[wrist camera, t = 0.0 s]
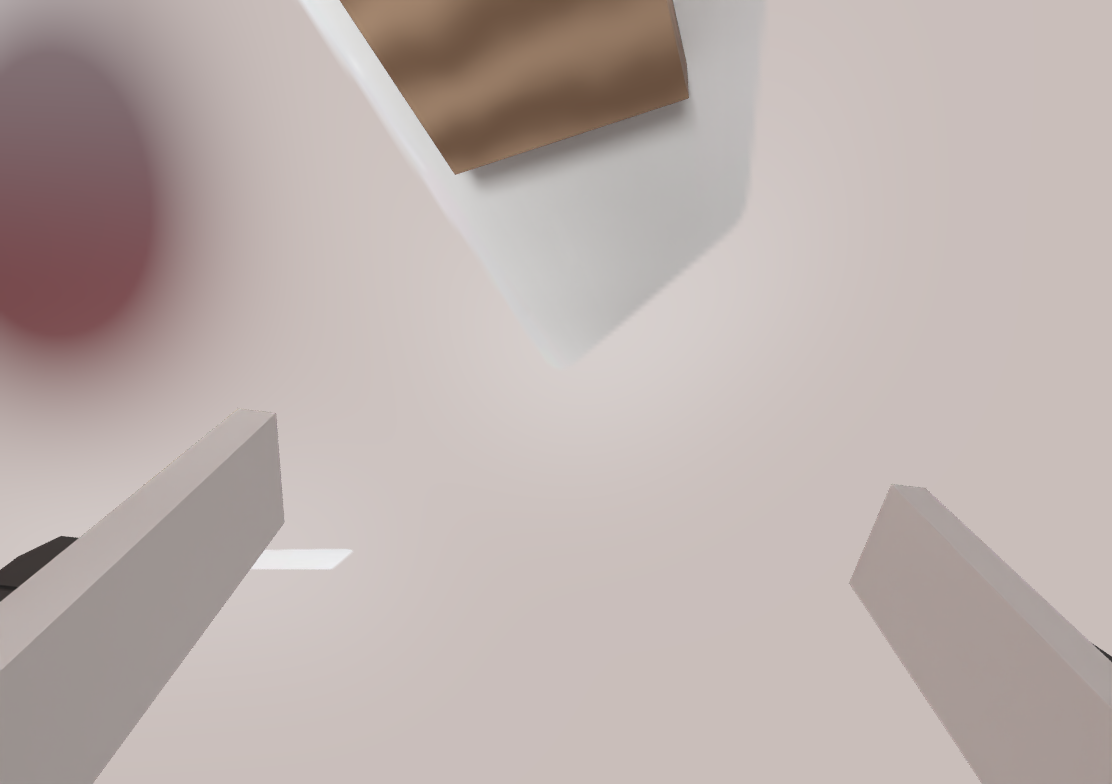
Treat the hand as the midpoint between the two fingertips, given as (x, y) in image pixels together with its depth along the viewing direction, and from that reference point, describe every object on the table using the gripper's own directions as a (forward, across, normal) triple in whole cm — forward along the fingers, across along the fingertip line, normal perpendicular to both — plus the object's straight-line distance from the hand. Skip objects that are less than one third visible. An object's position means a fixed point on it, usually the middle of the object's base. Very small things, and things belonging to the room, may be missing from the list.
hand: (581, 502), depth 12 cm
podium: (+33, -6, +16) cm, 37 cm away
